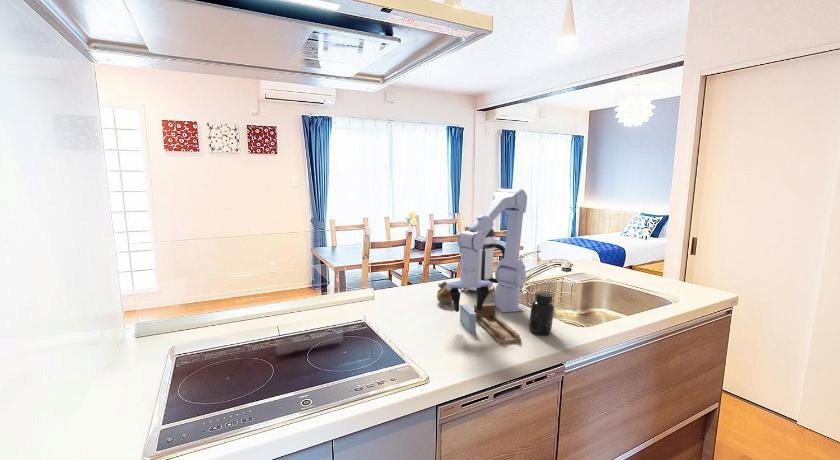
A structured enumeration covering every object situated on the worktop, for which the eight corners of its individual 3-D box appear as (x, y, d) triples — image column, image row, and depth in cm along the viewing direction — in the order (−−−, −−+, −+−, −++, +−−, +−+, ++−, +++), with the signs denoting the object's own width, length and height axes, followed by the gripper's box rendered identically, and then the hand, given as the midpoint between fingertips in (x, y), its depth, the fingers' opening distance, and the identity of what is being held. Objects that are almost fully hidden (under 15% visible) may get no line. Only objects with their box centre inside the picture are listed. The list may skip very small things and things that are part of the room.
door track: (473, 318, 131) (474, 304, 130) (492, 317, 133) (493, 303, 132) (499, 344, 112) (500, 327, 111) (521, 342, 113) (521, 325, 113)
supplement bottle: (552, 337, 117) (557, 299, 115) (529, 333, 118) (534, 296, 116) (548, 328, 124) (553, 292, 122) (527, 325, 125) (531, 290, 123)
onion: (434, 305, 143) (434, 285, 142) (438, 298, 151) (438, 279, 150) (454, 307, 142) (455, 286, 140) (457, 300, 149) (457, 280, 148)
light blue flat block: (459, 322, 128) (460, 304, 127) (465, 321, 129) (466, 304, 128) (469, 332, 120) (470, 314, 119) (475, 332, 120) (476, 314, 119)
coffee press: (463, 297, 153) (466, 222, 149) (456, 285, 169) (459, 217, 165) (506, 296, 155) (510, 223, 150) (495, 285, 171) (498, 218, 166)
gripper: (451, 273, 116) (450, 316, 118) (496, 271, 119) (494, 312, 121) (444, 267, 122) (443, 308, 124) (487, 265, 126) (485, 305, 128)
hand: (467, 310), depth 123 cm, fingers open, 7 cm apart
